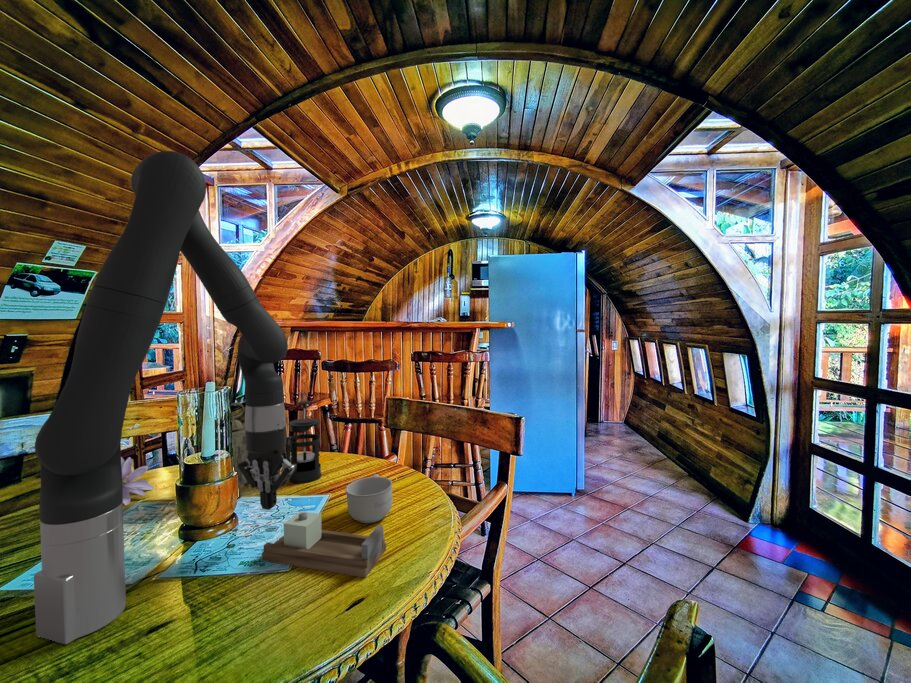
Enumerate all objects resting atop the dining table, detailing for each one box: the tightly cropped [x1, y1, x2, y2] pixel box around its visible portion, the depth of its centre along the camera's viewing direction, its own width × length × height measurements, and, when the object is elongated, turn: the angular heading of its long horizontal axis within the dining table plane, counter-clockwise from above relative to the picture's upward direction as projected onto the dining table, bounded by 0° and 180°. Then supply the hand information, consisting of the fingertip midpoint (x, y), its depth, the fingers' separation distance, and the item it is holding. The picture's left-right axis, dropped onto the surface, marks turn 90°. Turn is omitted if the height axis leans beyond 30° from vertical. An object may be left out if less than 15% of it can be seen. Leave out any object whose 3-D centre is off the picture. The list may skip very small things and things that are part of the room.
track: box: [261, 525, 387, 578], centre depth 78 cm, size 9×22×6 cm, turn 77°
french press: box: [285, 400, 322, 485], centre depth 117 cm, size 12×9×23 cm
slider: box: [283, 510, 322, 549], centre depth 79 cm, size 5×5×6 cm
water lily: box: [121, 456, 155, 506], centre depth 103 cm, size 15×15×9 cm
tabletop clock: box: [230, 402, 255, 499], centre depth 104 cm, size 14×9×25 cm, turn 152°
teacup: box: [345, 474, 393, 524], centre depth 95 cm, size 14×11×8 cm
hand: (268, 507), depth 81 cm, fingers closed
